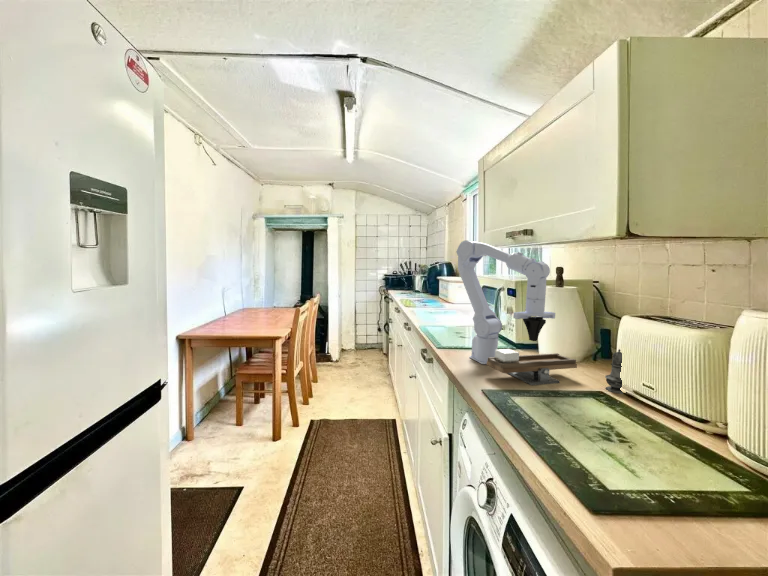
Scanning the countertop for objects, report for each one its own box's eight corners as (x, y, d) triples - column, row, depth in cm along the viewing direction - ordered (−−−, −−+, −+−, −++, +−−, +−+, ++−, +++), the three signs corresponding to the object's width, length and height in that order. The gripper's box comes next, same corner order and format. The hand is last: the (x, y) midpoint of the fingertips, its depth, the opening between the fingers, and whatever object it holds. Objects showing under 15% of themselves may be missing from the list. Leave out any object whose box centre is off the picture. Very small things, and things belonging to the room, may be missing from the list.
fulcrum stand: (503, 371, 118) (504, 358, 118) (529, 369, 121) (530, 356, 121) (531, 385, 105) (532, 370, 105) (560, 383, 108) (561, 369, 108)
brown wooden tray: (486, 364, 114) (486, 356, 114) (555, 360, 121) (556, 352, 121) (503, 373, 105) (503, 365, 105) (576, 367, 112) (577, 360, 112)
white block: (494, 362, 112) (495, 349, 112) (508, 361, 113) (509, 348, 113) (504, 366, 107) (504, 353, 107) (518, 365, 109) (519, 352, 109)
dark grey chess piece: (632, 395, 100) (636, 352, 99) (608, 393, 101) (612, 350, 100) (622, 388, 106) (626, 347, 105) (600, 386, 107) (603, 345, 106)
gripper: (524, 300, 112) (521, 343, 113) (563, 300, 116) (560, 342, 116) (510, 297, 118) (508, 339, 119) (547, 298, 122) (545, 337, 123)
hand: (532, 340), depth 118 cm, fingers closed
